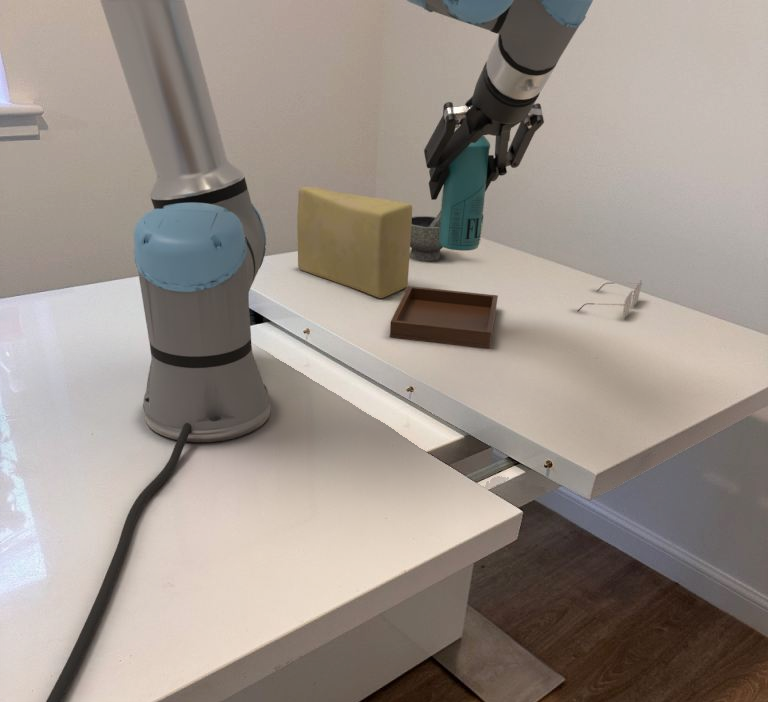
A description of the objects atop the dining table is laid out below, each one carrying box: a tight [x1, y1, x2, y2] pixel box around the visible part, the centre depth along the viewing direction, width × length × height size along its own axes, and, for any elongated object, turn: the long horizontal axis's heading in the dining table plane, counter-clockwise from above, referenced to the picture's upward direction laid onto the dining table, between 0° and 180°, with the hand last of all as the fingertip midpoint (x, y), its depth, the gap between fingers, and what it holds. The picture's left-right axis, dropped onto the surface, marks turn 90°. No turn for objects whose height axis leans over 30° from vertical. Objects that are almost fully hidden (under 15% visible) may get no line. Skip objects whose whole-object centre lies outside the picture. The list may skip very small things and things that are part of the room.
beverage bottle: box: [438, 119, 491, 252], centre depth 105 cm, size 6×7×20 cm
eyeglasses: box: [576, 279, 643, 319], centre depth 128 cm, size 14×8×4 cm, turn 151°
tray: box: [389, 285, 499, 349], centre depth 118 cm, size 18×16×3 cm
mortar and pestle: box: [409, 211, 444, 262], centre depth 145 cm, size 11×9×12 cm
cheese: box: [296, 186, 413, 299], centre depth 129 cm, size 22×10×15 cm, turn 56°
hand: (455, 191), depth 108 cm, fingers closed on beverage bottle, 6 cm apart
